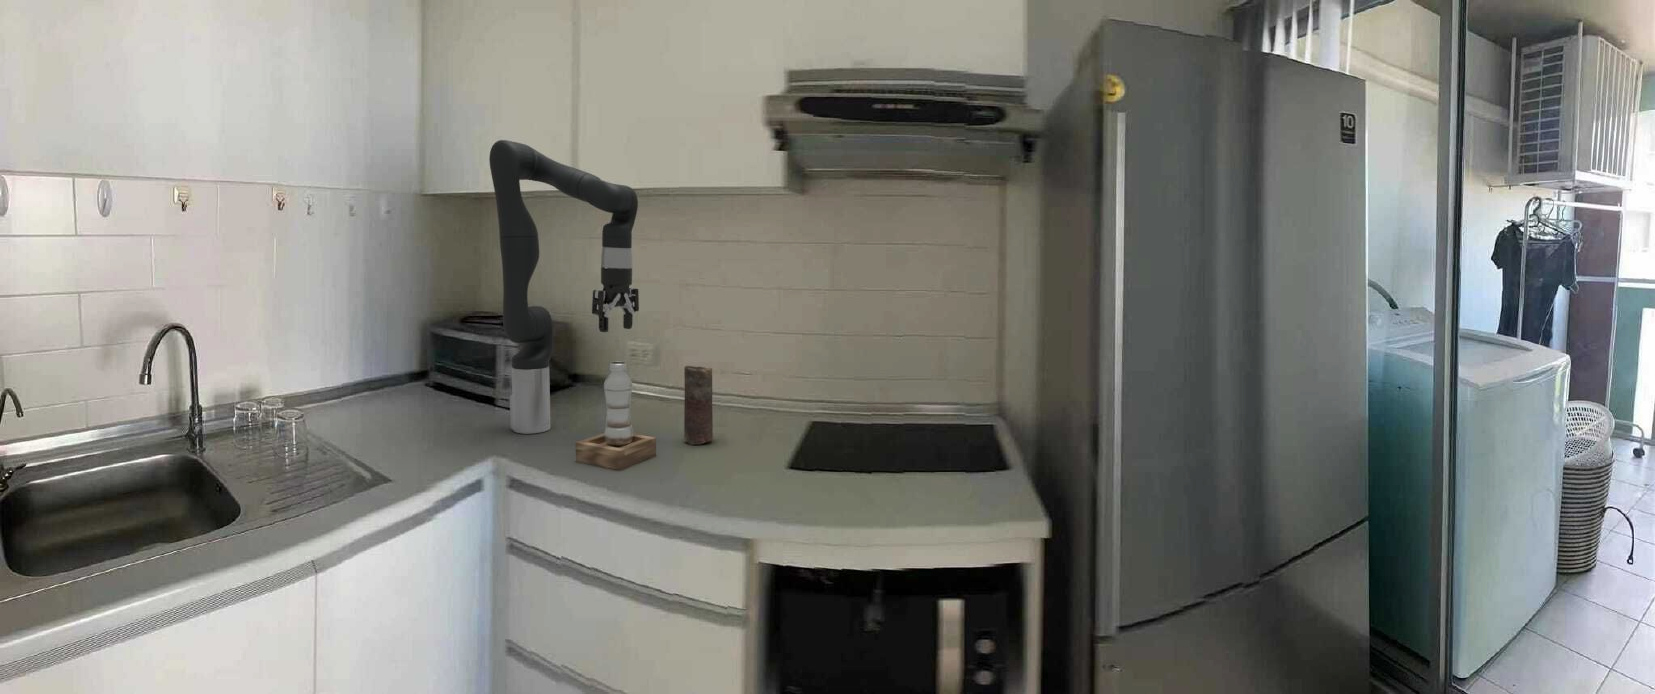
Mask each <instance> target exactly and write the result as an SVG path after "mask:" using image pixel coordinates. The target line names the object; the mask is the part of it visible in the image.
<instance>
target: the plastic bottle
mask: <svg viewBox="0 0 1655 694" xmlns="http://www.w3.org/2000/svg"><path fill="white" fill-rule="evenodd" d="M627 370H628V369H627V362H626V361H611V362H610V364H609V371H610V373H609V374H608V375H607V376H606V378H605V380H604V383H603V390H604V392H603V393H604V396H605V404H606V405H605V407H606V418H605V419H606V420H605V428H604V433H603V434H604V437H605V441H606V442H607V444H608V445H611V446H624V445H628V444H630V443H631V441H632V440H633V434H634V429H633V426H632V418H631V417H632V416H631V399H632V393H633V382H632V379H631V378H630V377H629V375H628V374H627V373H626V371H627Z"/></svg>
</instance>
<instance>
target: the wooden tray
mask: <svg viewBox="0 0 1655 694" xmlns="http://www.w3.org/2000/svg"><path fill="white" fill-rule="evenodd" d="M656 456H657V437H654V436H647V435H644V434H638V433H633V440H632V441H631V443H630V444H628V445H624V446H611V445H608V444H607V442H606V441H605V437H604V433H601V434H598V435H594V436H591V437H588V438H585V439H583V440H579V441H575V462H579V463H581V464H587V465H591V466H592V465H593V466H596V467H602V468H607V469H613V470H617V471H621V470H624V469H627V468H628V467H631V466H634V465H636V464H639V463H641V462H643V461H647V460H649V459H652V458H653V457H656Z"/></svg>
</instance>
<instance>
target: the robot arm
mask: <svg viewBox="0 0 1655 694" xmlns="http://www.w3.org/2000/svg"><path fill="white" fill-rule="evenodd" d="M488 157H489V159H488V160H489V161H488V162H489V169H490V174H491V179H492V184H493V189H494V195H495V201H496V211H497V219H498V220H497V221H498V232H499V237H498V238H499V247H500V249H499V250H500V256H501V267H502V268H501V269H502V283H503V285H502V286H503V289H502V290H503V291H502V292H503V294H502V297H503V298H502V324H503V330H504V333H505V336H506V337H507V338H508V340H509V341H510V342H511V343H515V344H521V343H523V346H522V348H521V349H520V350H519V351H518V352H517V353H515V354H514V355H513V356H512V357H511V384H512V385H511V386H512V387H511V389H512V391H511V392H512V393H511V394H510V395H509V410H510V411H509V412H510V413H509V414H510V416H509V418H510V430H512V431H513V432H514V433H516V434H517V433H518V434H524V435H525V434H526V435H529V434H539V433H545V432H548V431H550V429H551V393H550V390H551V389H550V385H551V384H550V360H551V358H552V354H553V335H554V334H553V333H554V325H553V318H552V316H551V314H550V312H549V310H548V309H547V308H545V307H543V306H540V305H539V306H538V305H532V306H529V303H528V301H529V300H528V299H529V298H528V291H529V290H528V289H529V285H530V281H531V279H532V277H533V275H534V272H535V269H536V268H537V266H538V262H539V260H540V241H539V240H540V239H539V232H538V227H537V225H536V223H535V222H534V219H533V217H532V216H531V214H530V212H529V209H527V207H526V204H525V202H524V200H523V196H522V191H521V183H520V181H525V180H526V181H533V182H540V183H544V184H546V185H549V186H552V187H553V188H555V189H556V190H558V191H559V192H561V193H563V194H564V195H567V196H569V197H571V198H574V199H577V200H580V201H581V202H585V203H588V204H589V205H592V206H593V207H594V208H596V209H599V210H600V211H604V212H605V213H609V214H610V213H611V214H612V215H611V219H610V222H607V223H606V224H604V225H603V226H602V235H601V239H602V240H601V248H602V249H601V254H600V284H601V285H602V287H603V288H602V290H600V289H594V290H593V291H592V304H591V314H592V315H596V316H597V317H598V329H599V332H601V333H608V332H609V317H608V316H609V314H610V313H611V312H612V311H613V310H614V308H618V307H620V308H621V310H622V312H623V316H622V317H623V321H622V322H623V326H622V327H623V328H624V329H627V330H631V329H632V328H633V318H634V314H635V313H636V312H639V311H640V310H639V309H640V306H639V305H640V301H639V300H640V299H639V296H640V295H639V288H635V287H634V288H632V287H630V286H632V284H633V252H632V250H633V249H632V237H633V236H632V235H633V234H632V231H633V229H634V225H635V222H636V218H637V214H638V208H639V200H638V196H637V193H636V192H635V190H634V188H632V187H631V186H628V185H625V184H624V185H623V184H617V183H613V182H610V181H605V180H602V179H601V178H600V177H599V176H596V175H595V174H592V173H589V172H587V171H585V170H582V169H578V168H576V167H573V166H569V165H567V164H566V165H565V164H563V163H561V162H558V161H556V160H554V159H552V158H550V157H548V156H546V155H545V154H543V153H542V152H540V151H538V150H537V149H534V148H533V147H532V146H529V145H527V144H525V143H521V142H518V141H511V140H506V139H500V140H497V141H496V142H494V144H492V146H491V148H490V151H489V156H488Z"/></svg>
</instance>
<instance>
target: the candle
mask: <svg viewBox="0 0 1655 694" xmlns="http://www.w3.org/2000/svg"><path fill="white" fill-rule="evenodd" d="M683 374H684V414H683V415H684V420H683V423H684V424H683V425H684V427H683V428H684V429H683V432H684V433H683V435H684V437H683V438H684V441H685V442H686V443H687V444H688V445H691V446H695V445H702V444H704V443H709V442H711V441H712V440H713V437H714V434H713V433H714V432H713V431H714V430H713V428H714V427H713V426H714V424H713V419H714V418H713V416H714V415H713V368H711V367H708V368H707V367H703V366H693V365H692V366H691V365H685V366H684V373H683Z"/></svg>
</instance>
